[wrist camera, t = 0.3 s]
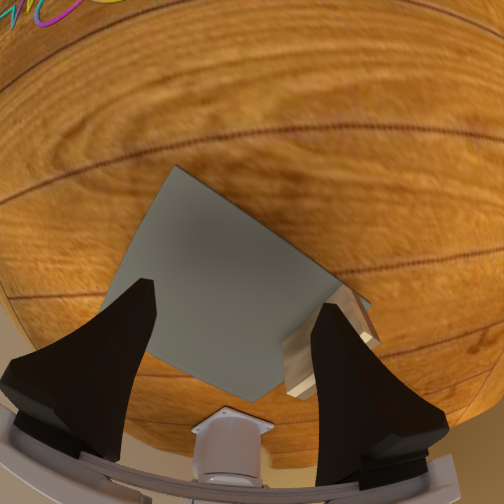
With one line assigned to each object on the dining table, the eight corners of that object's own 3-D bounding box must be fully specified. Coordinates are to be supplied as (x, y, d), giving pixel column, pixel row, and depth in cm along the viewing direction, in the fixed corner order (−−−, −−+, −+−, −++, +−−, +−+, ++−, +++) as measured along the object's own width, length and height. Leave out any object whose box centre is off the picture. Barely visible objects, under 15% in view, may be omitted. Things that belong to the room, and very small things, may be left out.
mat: (252, 400, 30) (252, 403, 30) (97, 317, 25) (95, 319, 25) (370, 303, 24) (372, 305, 23) (176, 164, 19) (174, 165, 19)
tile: (297, 350, 26) (304, 400, 20) (281, 342, 25) (286, 393, 20) (358, 295, 23) (380, 342, 17) (343, 283, 22) (364, 331, 17)
